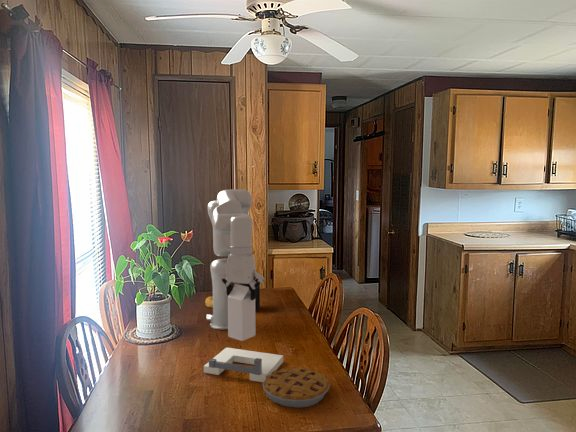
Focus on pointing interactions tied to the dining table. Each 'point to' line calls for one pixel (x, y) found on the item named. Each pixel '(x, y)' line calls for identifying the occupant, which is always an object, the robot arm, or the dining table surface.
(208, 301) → the bagel
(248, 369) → the hook rail
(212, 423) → the dining table surface
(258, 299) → the coffee jar
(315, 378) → the pie
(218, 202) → the robot arm
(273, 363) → the notched board
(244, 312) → the milk carton
